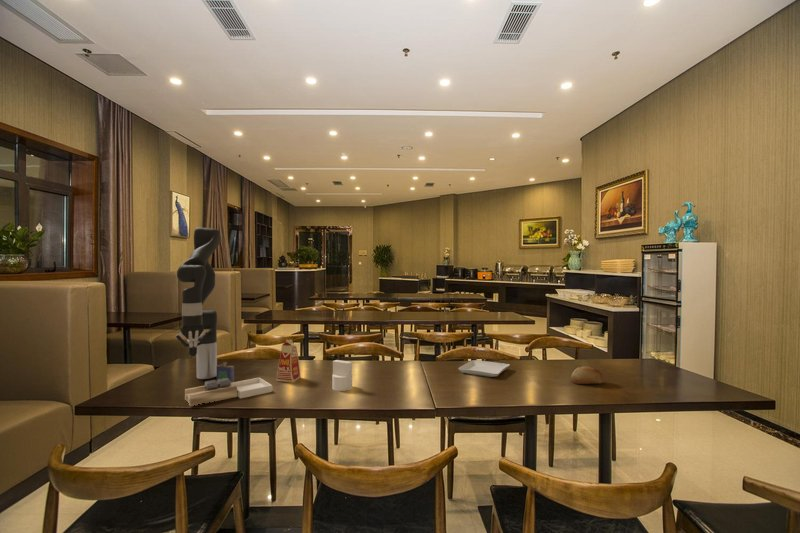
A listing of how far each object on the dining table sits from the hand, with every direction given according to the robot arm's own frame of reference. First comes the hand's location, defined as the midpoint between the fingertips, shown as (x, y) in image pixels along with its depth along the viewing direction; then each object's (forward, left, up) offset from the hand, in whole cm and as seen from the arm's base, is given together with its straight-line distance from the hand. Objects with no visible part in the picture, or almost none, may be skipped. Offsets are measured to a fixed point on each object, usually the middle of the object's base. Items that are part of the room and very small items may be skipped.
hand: (192, 356), depth 165 cm
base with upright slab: (+23, +57, -19) cm, 64 cm away
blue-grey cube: (0, +12, -16) cm, 20 cm away
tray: (0, +23, -19) cm, 30 cm away
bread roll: (+91, +149, -19) cm, 176 cm away
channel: (0, +7, -19) cm, 20 cm away
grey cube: (0, +7, -16) cm, 17 cm away
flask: (-16, +17, -19) cm, 30 cm away
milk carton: (-6, +44, -19) cm, 48 cm away
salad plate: (+47, +128, -20) cm, 138 cm away
